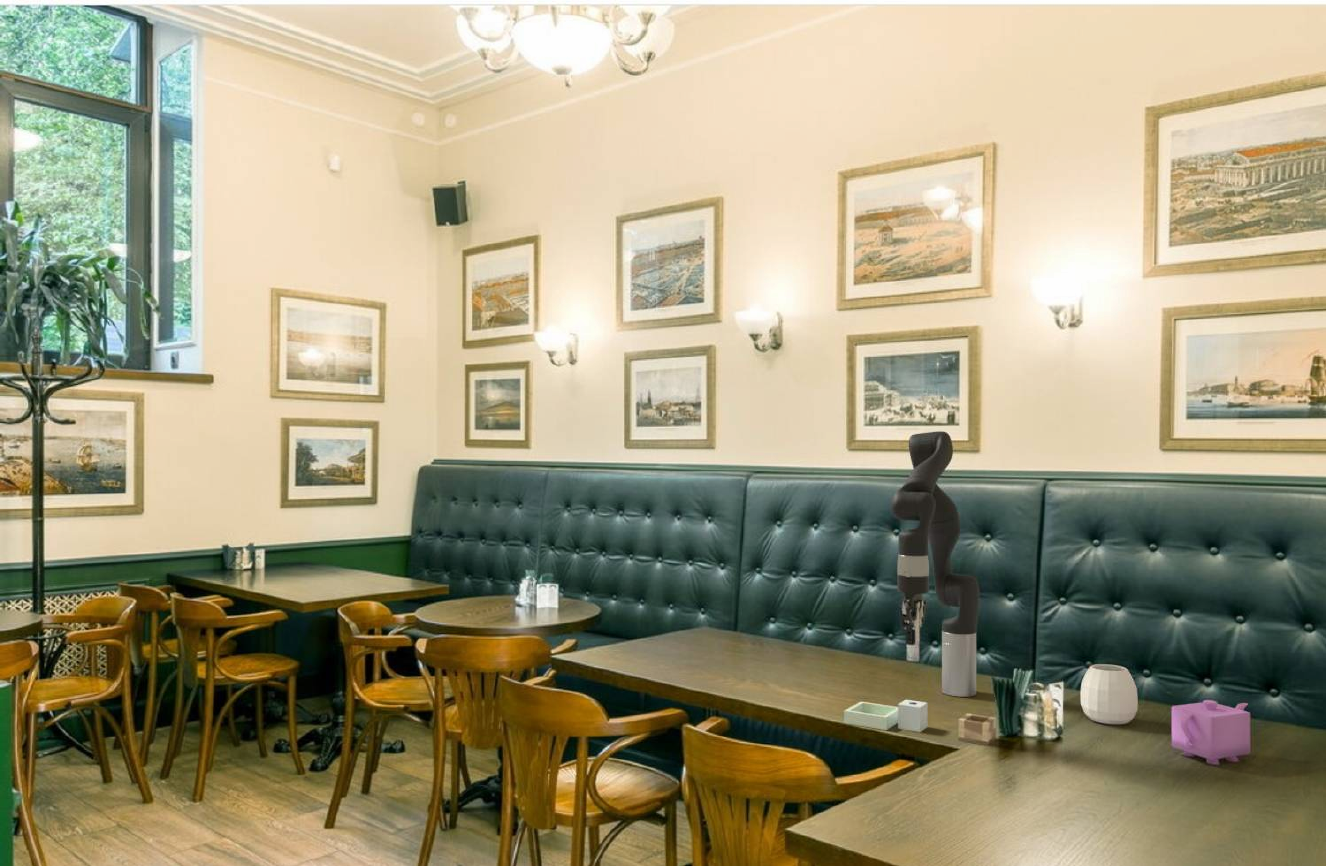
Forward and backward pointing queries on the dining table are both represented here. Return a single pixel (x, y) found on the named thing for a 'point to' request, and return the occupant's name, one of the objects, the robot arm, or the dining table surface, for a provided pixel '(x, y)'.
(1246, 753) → the teapot
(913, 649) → the cylinder
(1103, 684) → the white vase
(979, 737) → the oak block
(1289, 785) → the dining table surface
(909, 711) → the white cube
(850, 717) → the tray
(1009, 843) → the dining table surface
